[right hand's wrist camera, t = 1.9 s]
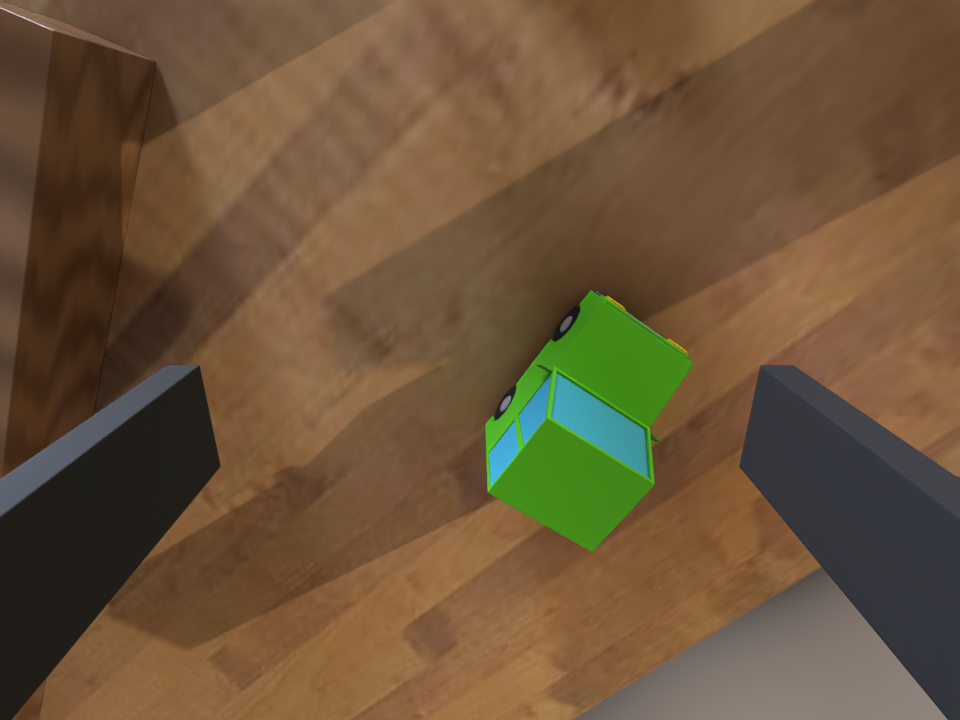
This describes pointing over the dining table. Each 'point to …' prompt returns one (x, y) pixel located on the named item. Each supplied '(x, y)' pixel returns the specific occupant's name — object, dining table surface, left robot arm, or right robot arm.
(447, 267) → the dining table surface
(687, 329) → the dining table surface
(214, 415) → the dining table surface
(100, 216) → the post
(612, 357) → the toy car
